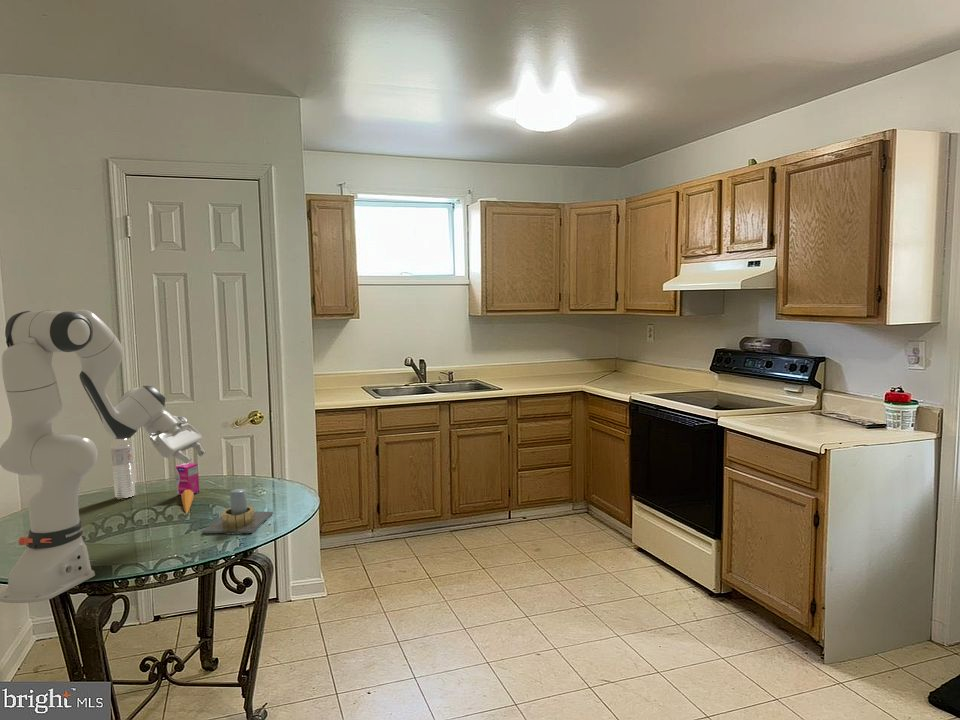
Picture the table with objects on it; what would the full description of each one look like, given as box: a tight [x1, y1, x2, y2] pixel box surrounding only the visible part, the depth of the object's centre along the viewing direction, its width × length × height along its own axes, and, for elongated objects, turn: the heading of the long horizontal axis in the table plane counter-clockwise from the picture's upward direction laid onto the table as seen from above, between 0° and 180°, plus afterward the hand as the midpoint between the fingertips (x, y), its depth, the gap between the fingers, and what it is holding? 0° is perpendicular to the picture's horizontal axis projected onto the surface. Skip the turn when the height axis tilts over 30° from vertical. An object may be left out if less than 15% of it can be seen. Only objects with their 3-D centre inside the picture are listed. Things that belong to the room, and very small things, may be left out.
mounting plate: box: [201, 511, 274, 534], centre depth 215 cm, size 18×16×1 cm
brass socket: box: [221, 505, 256, 526], centre depth 214 cm, size 10×10×4 cm
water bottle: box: [110, 438, 136, 499], centre depth 247 cm, size 7×7×25 cm
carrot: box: [180, 490, 195, 515], centre depth 235 cm, size 20×4×4 cm, turn 23°
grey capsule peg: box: [229, 488, 248, 514], centre depth 214 cm, size 5×5×10 cm
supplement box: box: [174, 462, 200, 495], centre depth 249 cm, size 6×6×12 cm
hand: (196, 458), depth 213 cm, fingers open, 8 cm apart
